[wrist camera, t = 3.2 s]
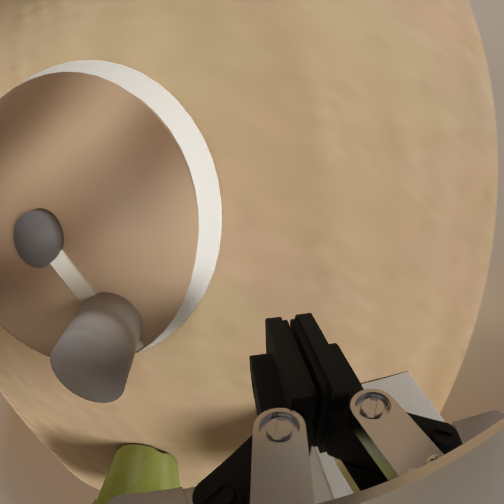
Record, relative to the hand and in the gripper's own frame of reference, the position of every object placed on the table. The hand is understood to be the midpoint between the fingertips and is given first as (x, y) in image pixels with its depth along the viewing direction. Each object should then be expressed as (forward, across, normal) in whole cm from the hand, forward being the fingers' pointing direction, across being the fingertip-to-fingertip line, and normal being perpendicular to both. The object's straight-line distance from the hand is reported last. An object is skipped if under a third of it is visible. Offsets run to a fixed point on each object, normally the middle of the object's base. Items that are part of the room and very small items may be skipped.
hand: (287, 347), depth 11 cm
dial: (+4, +10, -5) cm, 12 cm away
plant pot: (+6, +12, +18) cm, 23 cm away
